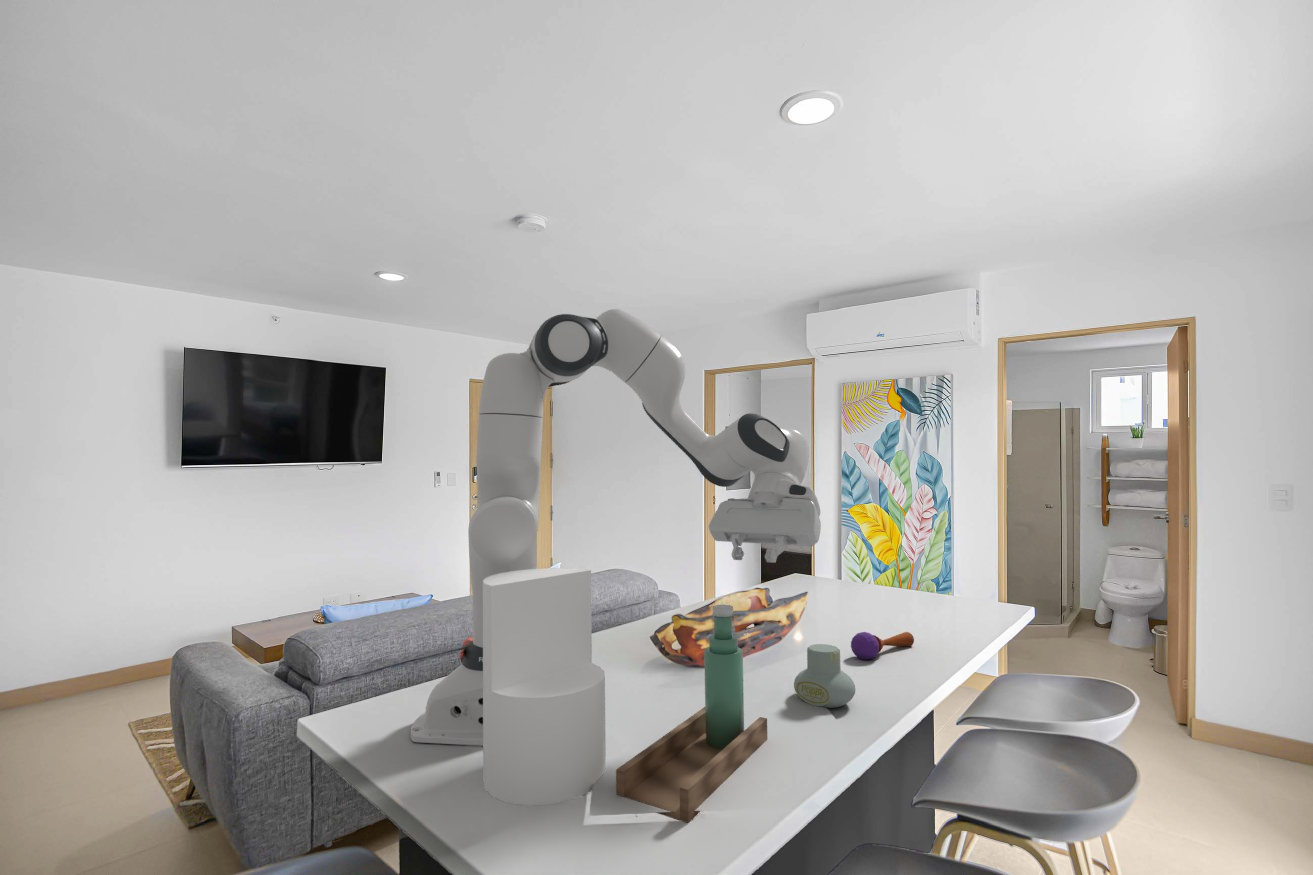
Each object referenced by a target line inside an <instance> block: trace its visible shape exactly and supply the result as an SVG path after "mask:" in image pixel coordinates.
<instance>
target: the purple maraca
mask: <svg viewBox="0 0 1313 875" xmlns="http://www.w3.org/2000/svg"><path fill="white" fill-rule="evenodd" d="M914 643H915V637H914V635H913V634H912V633H911V632H910V631H905V632H902V633H899V634H896V635H893V636H891V637H888V638H885V639H881V638H879V637H878V636H877V635H874V634H872V633H870V632H867V631H862V632H857V633H856V634H855V635H854V636H853V637H852V639H851V641H850V648H851V652H852V653H853V654H854V656H856V657H857V658H858V659H860V660H862V661H863V660H864V661H866V660H867V661H868V660H874V658H875V657H876V656H877V655H879V653H880V652H881V651H882V650H883V647H885V646H886V647H887V646H888V647H889V646H890V647H895V646H896V647H911V646H913V645H914Z"/></svg>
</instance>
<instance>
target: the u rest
mask: <svg viewBox="0 0 1313 875" xmlns="http://www.w3.org/2000/svg"><path fill="white" fill-rule="evenodd" d="M767 741H768V718H766V717H761V716H759V717H758V718H756V720H755V721H754V722H752V723H751V724H750V725H749V726H748V727H747V728H746V729H744V731H743V732H742V733H741V734H740V735H739V736H738V737H737V738H735V739H734V740H733V741H732V742H731V743H730V744H729V745H727V746H726V747H725V748H724V749H716V748H713V747H711V746H709V745H708V744H707V743H706V722H705V706H704V707H702V708H701V709H700V710H698V711H696V713H694V714H692V715H691V716H690V717H688V718H687V719H685V720H684V721H682V722H681V723H679V724H678V725H677V726H676V727H675V728H673V729H671V730H670V731H668V732H667V733H665V734H664V735H663V736H661V737H659V738H658V739H657V740H656V741H654V742H653V743H651V744H650V745H648V746H647V747H646V748H645V749H643V750H642V751H641V752H638V754H636V755H634V757H632V758H631V759H629V760H628V761H626V762H625V763H624V764H622V765H621V766H619V767H617V769H616V770H615V775H616V776H615V783H616V784H615V785H616V786H615V789H616V795H617V796H619V797H621V798H626V799H629V800H632V801H635V802H638V803H639V802H640V803H642V804H645V805H649V806H652V807H656V808H659V809H662V810H665V811H661V812H660V811H658V812H655V811H654V812H655V813H656V814H659V815H662V816H665V817H669V818H670V819H671V818H672V819H675V820H678V821H681V822H685V823H687V824H690V822H691V821H693V820H694V819H695V817H696V816H698V815H699V813H700V812H701V810H697V809H698V808H699V807H700V806H701V805H702V804H703V803H704V802H705V801H707V799H708V798H710V797H711V796H712V794H713V793H715V791H717V789H719V788H720V787H721V786H722V785H723V784H724V783H725V782H726V781H727V780H728V779H729V777H731V776H732V775H733V774H734V773H735V772H736V771H737V770H738V769H739V768H740V767H741V766H743V764H745V762H746V761H747V760H749V758H751V756H752V755H753V754H754V753H755V752H756V751H758V749H759V748H761V746H762V745H763V744H765V743H766V742H767Z"/></svg>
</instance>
